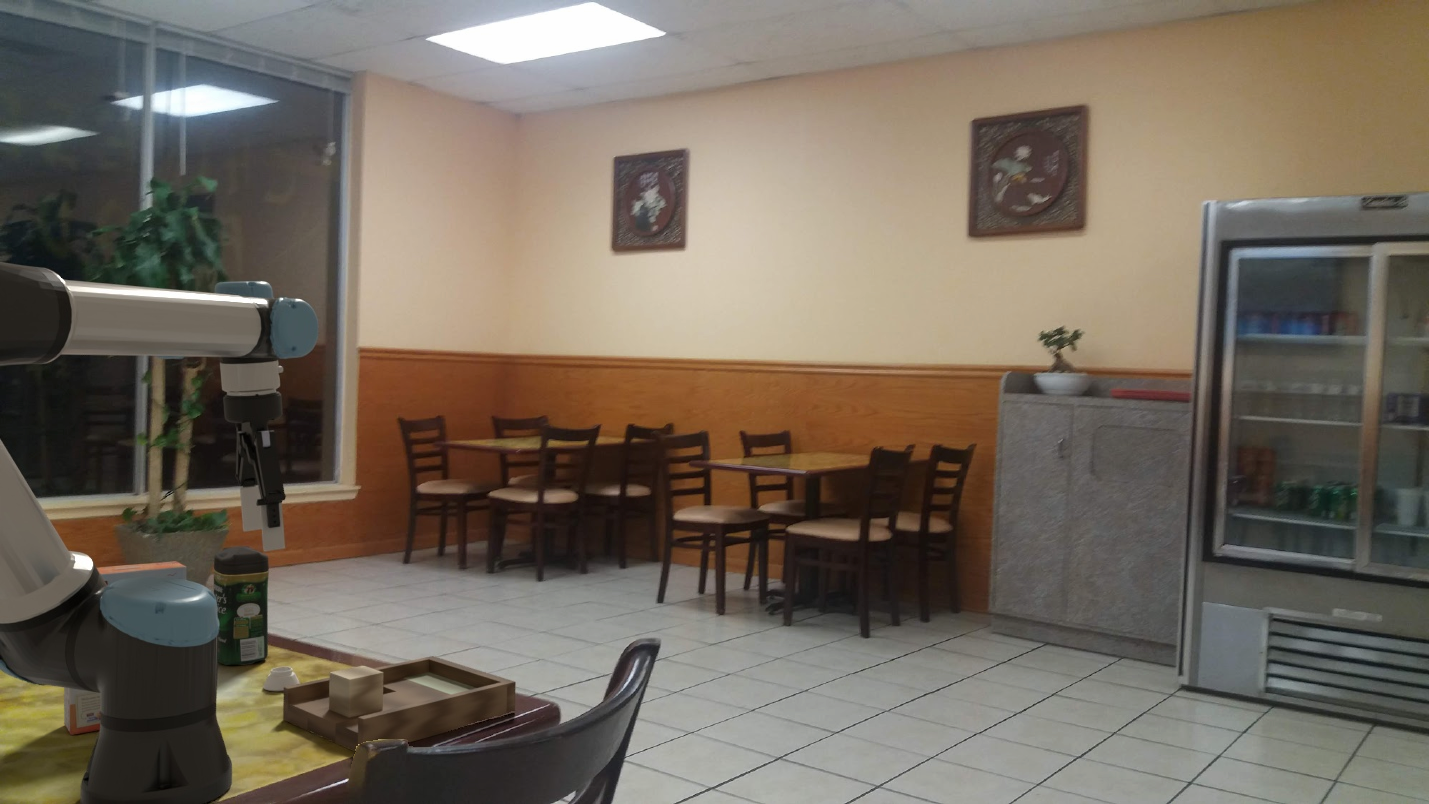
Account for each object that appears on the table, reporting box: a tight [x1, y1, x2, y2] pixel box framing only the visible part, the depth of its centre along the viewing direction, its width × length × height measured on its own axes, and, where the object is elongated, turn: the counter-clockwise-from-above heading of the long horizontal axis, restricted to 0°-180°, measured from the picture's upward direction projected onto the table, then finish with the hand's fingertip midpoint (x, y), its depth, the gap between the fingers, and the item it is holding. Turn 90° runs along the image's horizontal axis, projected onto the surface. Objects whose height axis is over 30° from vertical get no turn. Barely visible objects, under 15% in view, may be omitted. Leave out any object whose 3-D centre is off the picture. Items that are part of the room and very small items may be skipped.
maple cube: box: [329, 665, 383, 717], centre depth 145 cm, size 5×5×5 cm
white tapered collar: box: [262, 666, 300, 693], centre depth 163 cm, size 5×3×5 cm
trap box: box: [282, 655, 517, 752], centre depth 150 cm, size 24×20×4 cm
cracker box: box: [63, 560, 188, 736], centre depth 145 cm, size 14×6×21 cm, turn 129°
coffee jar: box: [213, 545, 270, 666], centre depth 178 cm, size 10×8×19 cm
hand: (263, 539), depth 154 cm, fingers open, 13 cm apart
